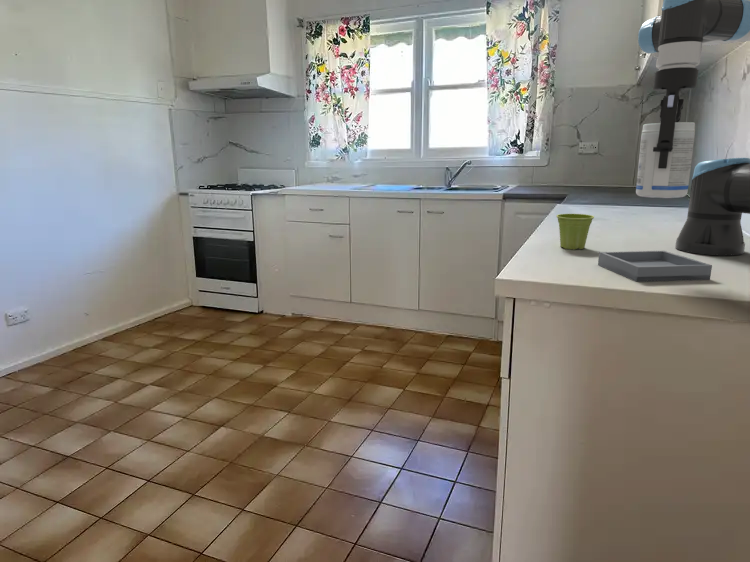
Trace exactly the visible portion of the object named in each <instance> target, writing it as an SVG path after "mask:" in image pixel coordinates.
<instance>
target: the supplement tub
mask: <svg viewBox="0 0 750 562" xmlns="http://www.w3.org/2000/svg"><path fill="white" fill-rule="evenodd" d="M660 124H661V122H657V123H655V122H654V123H645V124H643V125H642V130H641V138H640V144H639V145H640V147H639V156H638V167H637V174H636V175H637V177H636V187H635V194H636V195H637V196H638V197H641V198H652V199H653V198H654V199H655V198H659V199H675V198H683V197H686V196H687V194H688V192H689V184H690V178H691V177H690V176H691V168H692V167H691V166H692V160H693V152H694V146H695V145H694V143H695V136H696V135H695V134H696V132H695V131H696V123H695V122H691V121H689V122H688V121H683V122H682V121H679V122H675V130H674V138H673V146H672V147H673V150H672V151H671V152H672V159H671V167H670V174H669V182H668V186H655V185H653V177H654V169H655V161H656V153H657V152H653V147H657V143H658V138H659V131H660Z"/></svg>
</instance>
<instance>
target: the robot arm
mask: <svg viewBox="0 0 750 562" xmlns="http://www.w3.org/2000/svg"><path fill="white" fill-rule="evenodd" d="M637 36H638V39H637V40H638V42H637V43H638V46H639V48H640V49H641V50H642V52H644V53H647V54H653V58H656V63H655V67H656V69H658V70H656V71H655V72H654V76H653V77H654V78H653V86H652V89H653V91H654V92H666V93H665V95H664V96H663V97H662V99H661V100H660V104H659V106H660V107H659V109H660V112H659V113H660V114H659V122H660V123H661V124H660V131H659V138H658V143H657V147H653V152H657V153H656V161H655V169H654V177H653V185H655V186H668V182H669V174H670V167H671V159H672V152H671V151H672V150H673V147H672V146H673V138H674V130H675V122H681V117H682V110H683V109H684V104H685V100H684V98H681V93H682V92H681V91H689V90H693V89H695V88H696V87H697V85H698V84H697V83H698V77H699V69H698V68H697V67H698V66H699V65H700V64H701V56H702V49H703V47H708V46H717V45H726V44H734V43H736V44H737V43H744V42H750V0H663V2H662V7H661V15H657V16H655V17H651V18H649V19H647V20H646V21H645V22H643V23H642V25H641V26H640V29H639V30H638V34H637ZM688 200H689V203H688V208H687V210H688V211H687V217H686V221H685V223H684V224H683V226H682V228H681V230H680V232H679V234H678V236H677V238H676V240H675V249H676V250H679V251H681V252H687V253H692V254H699V255H708V256H709V255H710V256H711V255H712V256H739V255H743V254H744V253H745V248H746V247H745V246H746V243H745V241H744V234H743V229H742V224H741V223H742V222H741V220H742V215H743V214H747V215H750V157H735V158H734V157H733V158H721V159H711V160H705V161H700V162H698V163H697V164H696V165H695V167H694V170H693V175H692V178H691V186H690V195H689V199H688Z"/></svg>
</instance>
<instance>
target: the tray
mask: <svg viewBox="0 0 750 562" xmlns="http://www.w3.org/2000/svg"><path fill="white" fill-rule="evenodd" d="M597 261H598V263H597V266H599V267H602V268H604V269H607V270H608V271H611V272H612V273H615V274H618V275H620V276H622V277H625V278H627V279H628V280H629V279H630V280H631V281H634V282H637V283H638V282H639V283H641V282H642V283H643V282H673V281H710V280H711V275H712V270H713V269H712V268H713V265H712V264H709V263H706V262H703V261H699V260H696V259H694V258H693V259H692V258H689V257H687V256H682V255H680V254H676V253H673V252H669V251H667V250H635V251H633V250H631V251H630V250H629V251H598V260H597Z"/></svg>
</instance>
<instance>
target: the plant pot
mask: <svg viewBox="0 0 750 562" xmlns="http://www.w3.org/2000/svg"><path fill="white" fill-rule="evenodd" d="M556 218H557V222H558V229H559V230H558V231H559V240H560V241H559V242H560V248H563V249H565V250H572V249H573V250H577V249H579V250H583V249H585V247H586V243H587V238H588V235H589V231H590V228H591V225H592V222H593V219H595V215H591V214H584V213H561V214H560V213H559V214H556Z"/></svg>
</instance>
